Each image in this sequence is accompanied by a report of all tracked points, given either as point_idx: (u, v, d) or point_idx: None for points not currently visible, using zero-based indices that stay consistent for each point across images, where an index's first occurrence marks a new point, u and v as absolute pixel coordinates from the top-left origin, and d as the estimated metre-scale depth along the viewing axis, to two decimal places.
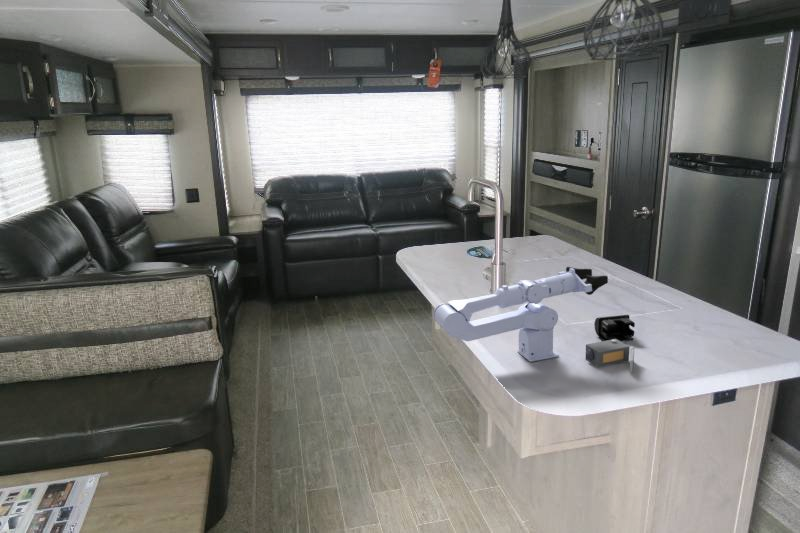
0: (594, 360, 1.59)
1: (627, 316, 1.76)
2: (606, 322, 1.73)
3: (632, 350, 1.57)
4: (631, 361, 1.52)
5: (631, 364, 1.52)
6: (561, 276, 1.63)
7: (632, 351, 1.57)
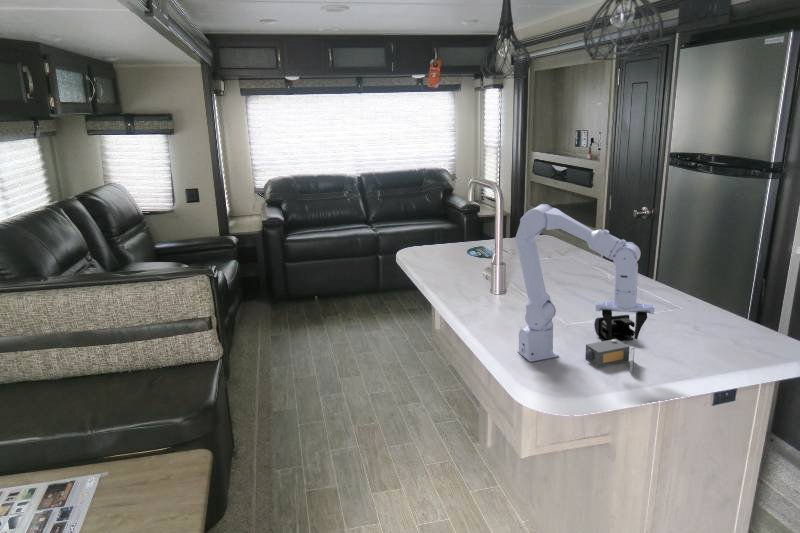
0: (594, 360, 1.59)
1: (627, 316, 1.76)
2: None
3: (632, 350, 1.57)
4: (631, 361, 1.52)
5: (631, 364, 1.52)
6: (622, 294, 1.48)
7: (632, 351, 1.57)
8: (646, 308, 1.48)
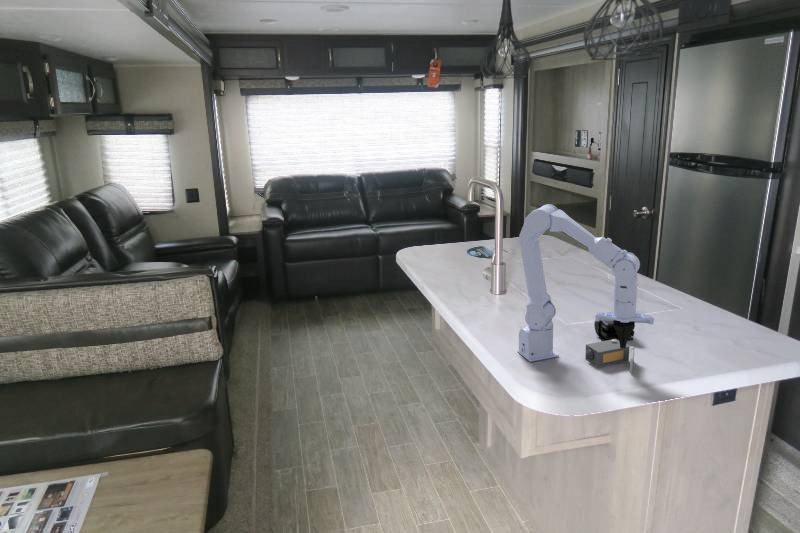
0: (594, 360, 1.59)
1: None
2: (606, 322, 1.73)
3: (632, 350, 1.57)
4: (631, 361, 1.52)
5: (631, 364, 1.52)
6: (622, 305, 1.49)
7: (632, 351, 1.57)
8: (645, 318, 1.49)
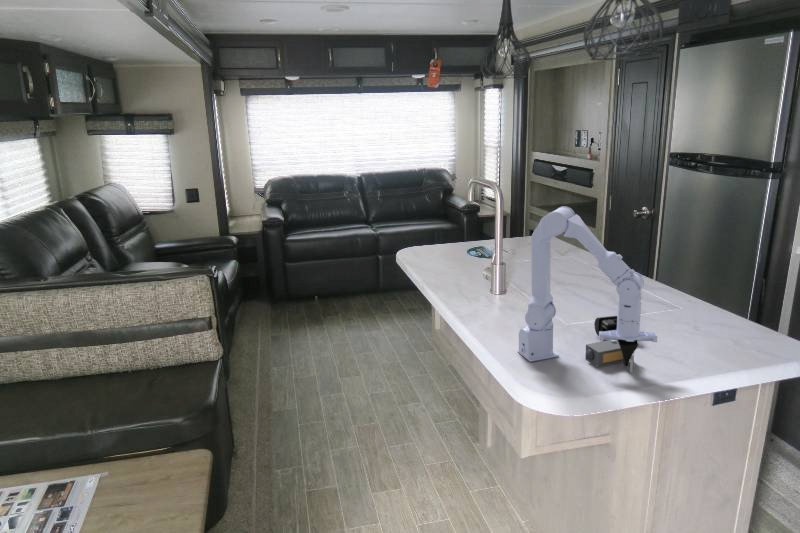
0: (594, 360, 1.59)
1: None
2: (606, 322, 1.73)
3: None
4: (631, 361, 1.52)
5: (631, 364, 1.52)
6: (627, 324, 1.49)
7: None
8: (649, 336, 1.50)
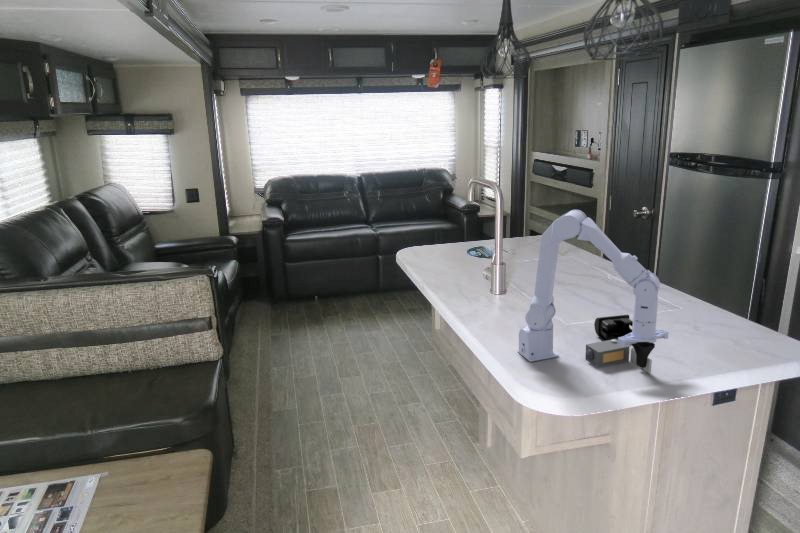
0: (594, 360, 1.59)
1: (627, 316, 1.76)
2: (606, 322, 1.73)
3: None
4: (650, 361, 1.51)
5: (650, 364, 1.51)
6: (649, 325, 1.48)
7: None
8: (663, 334, 1.52)
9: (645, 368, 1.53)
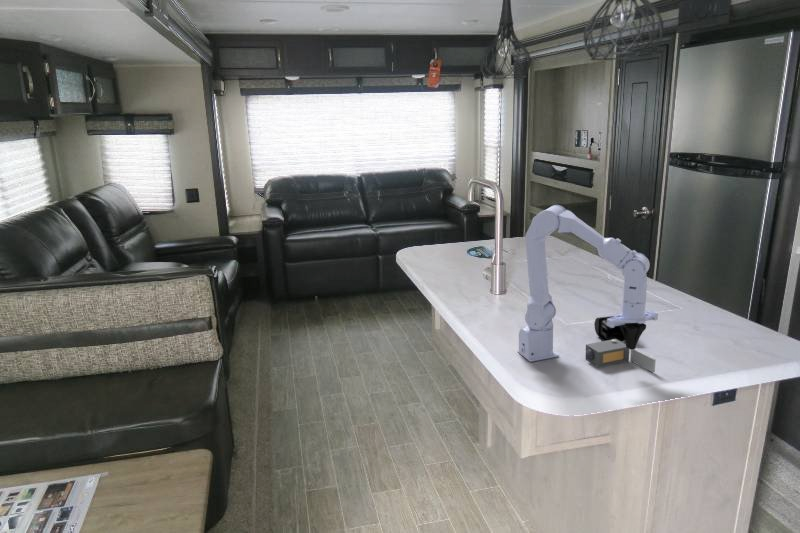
0: (594, 360, 1.59)
1: None
2: (606, 322, 1.73)
3: (636, 350, 1.57)
4: (654, 360, 1.51)
5: (654, 363, 1.52)
6: (638, 306, 1.47)
7: (638, 351, 1.57)
8: (652, 315, 1.51)
9: (648, 367, 1.53)
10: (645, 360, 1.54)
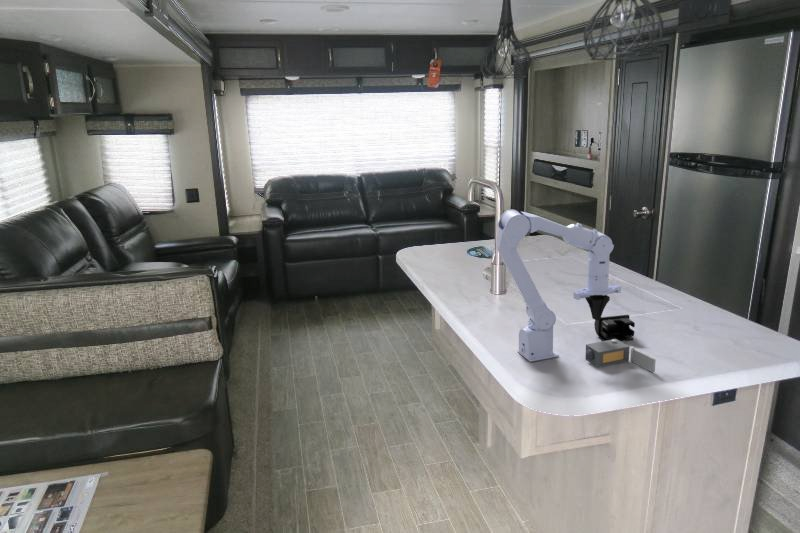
0: (594, 360, 1.59)
1: (627, 316, 1.76)
2: (606, 322, 1.73)
3: (636, 350, 1.57)
4: (654, 360, 1.51)
5: (654, 363, 1.52)
6: (601, 279, 1.60)
7: (638, 351, 1.57)
8: (616, 288, 1.64)
9: (648, 367, 1.53)
10: (645, 360, 1.54)
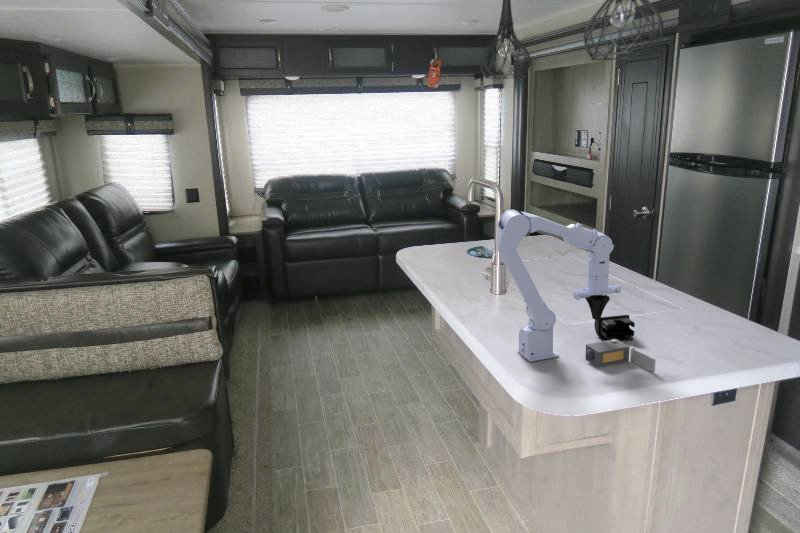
0: (594, 360, 1.59)
1: (627, 316, 1.76)
2: (606, 322, 1.73)
3: (636, 350, 1.57)
4: (654, 360, 1.51)
5: (654, 363, 1.52)
6: (601, 279, 1.60)
7: (638, 351, 1.57)
8: (616, 288, 1.64)
9: (648, 367, 1.53)
10: (645, 360, 1.54)
